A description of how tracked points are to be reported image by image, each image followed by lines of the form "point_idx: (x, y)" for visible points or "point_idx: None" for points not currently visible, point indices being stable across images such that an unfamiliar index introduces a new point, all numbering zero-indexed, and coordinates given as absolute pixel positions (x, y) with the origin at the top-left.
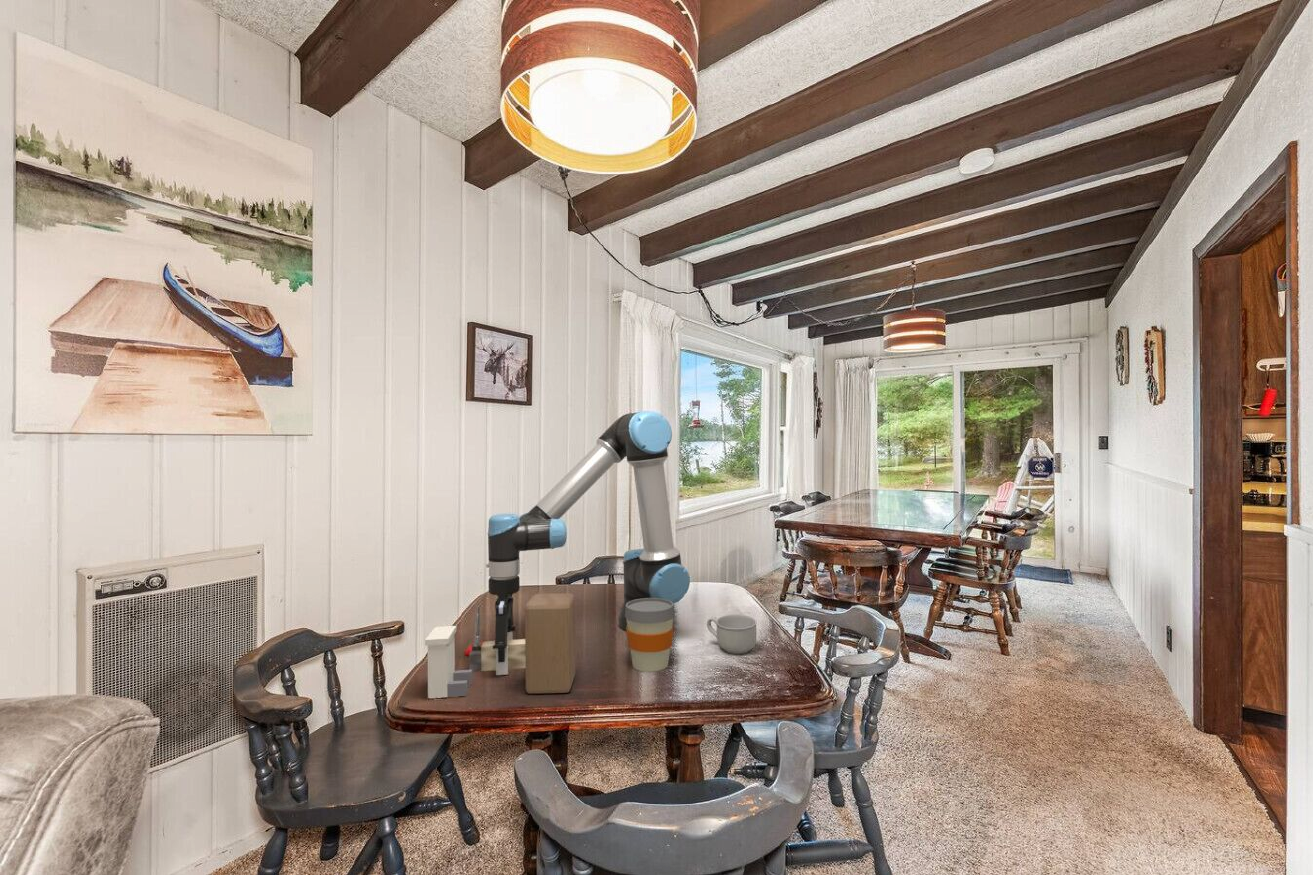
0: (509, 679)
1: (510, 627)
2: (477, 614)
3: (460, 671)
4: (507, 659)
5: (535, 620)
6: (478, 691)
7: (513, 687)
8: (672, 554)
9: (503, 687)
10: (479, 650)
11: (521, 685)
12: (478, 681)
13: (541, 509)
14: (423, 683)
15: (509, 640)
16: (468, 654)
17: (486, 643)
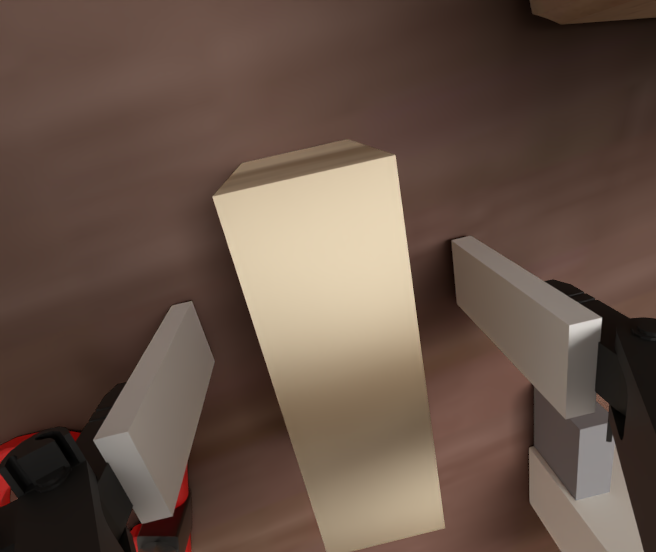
0: (527, 201)
1: (98, 505)
2: None
3: (592, 471)
4: (526, 270)
5: None
6: (648, 311)
7: (652, 134)
8: None
9: (635, 198)
10: (182, 516)
11: (636, 87)
12: None
13: None
14: (508, 546)
15: (289, 382)
16: (190, 539)
17: (372, 523)
